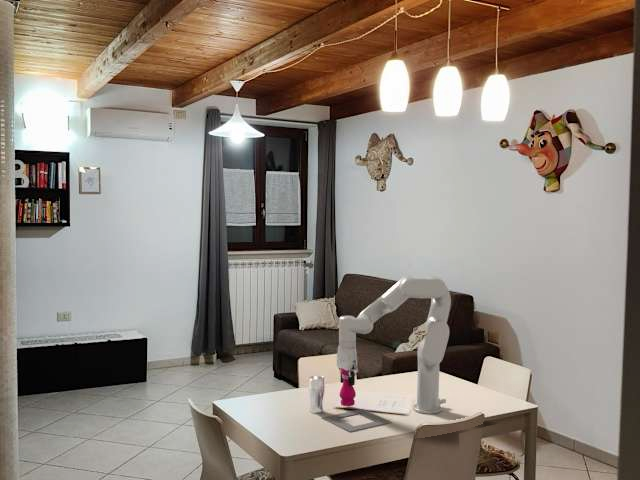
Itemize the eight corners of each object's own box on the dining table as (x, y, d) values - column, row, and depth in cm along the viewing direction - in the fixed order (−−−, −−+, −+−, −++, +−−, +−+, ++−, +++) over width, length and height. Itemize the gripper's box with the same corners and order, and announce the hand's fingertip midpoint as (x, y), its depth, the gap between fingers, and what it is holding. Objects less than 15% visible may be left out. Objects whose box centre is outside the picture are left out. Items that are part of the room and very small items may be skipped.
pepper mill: (354, 407, 284) (354, 362, 283) (338, 406, 286) (338, 361, 285) (356, 402, 291) (356, 358, 290) (341, 401, 293) (340, 358, 292)
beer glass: (327, 410, 285) (327, 377, 284) (319, 414, 279) (319, 380, 278) (314, 407, 288) (314, 374, 287) (305, 411, 282) (306, 378, 281)
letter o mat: (362, 409, 286) (362, 408, 286) (391, 422, 270) (391, 421, 270) (321, 418, 274) (321, 417, 274) (349, 432, 258) (349, 431, 258)
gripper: (329, 341, 292) (329, 380, 293) (352, 348, 278) (352, 389, 279) (343, 339, 296) (343, 378, 297) (365, 346, 282) (365, 386, 283)
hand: (347, 383), depth 288 cm, fingers closed on pepper mill, 5 cm apart
